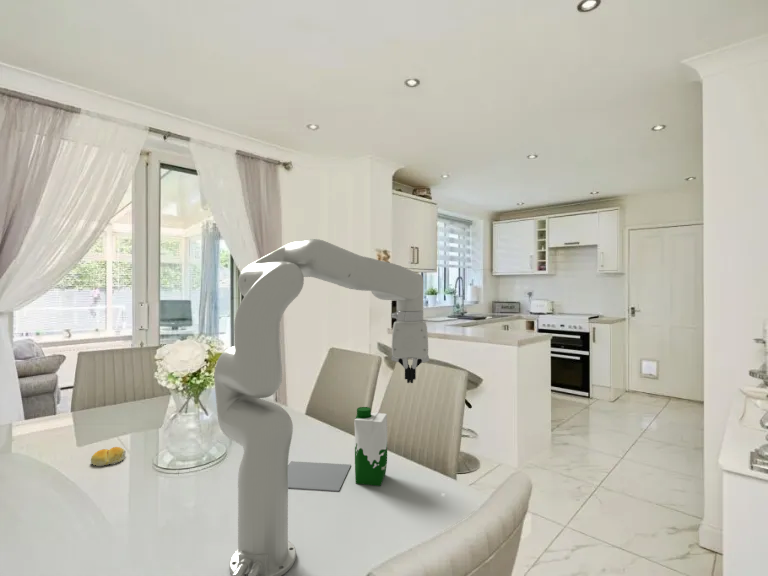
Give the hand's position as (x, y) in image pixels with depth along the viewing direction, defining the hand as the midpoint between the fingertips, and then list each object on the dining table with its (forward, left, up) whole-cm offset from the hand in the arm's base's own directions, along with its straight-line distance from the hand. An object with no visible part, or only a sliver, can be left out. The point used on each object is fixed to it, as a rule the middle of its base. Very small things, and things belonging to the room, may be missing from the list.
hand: (410, 381), depth 114 cm
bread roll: (+2, +95, -29) cm, 99 cm away
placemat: (0, +28, -28) cm, 40 cm away
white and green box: (0, +11, -28) cm, 30 cm away
